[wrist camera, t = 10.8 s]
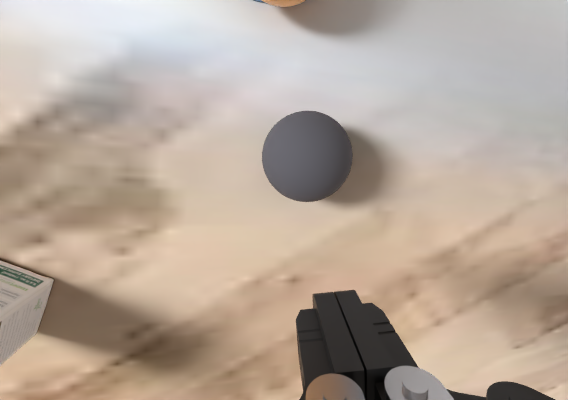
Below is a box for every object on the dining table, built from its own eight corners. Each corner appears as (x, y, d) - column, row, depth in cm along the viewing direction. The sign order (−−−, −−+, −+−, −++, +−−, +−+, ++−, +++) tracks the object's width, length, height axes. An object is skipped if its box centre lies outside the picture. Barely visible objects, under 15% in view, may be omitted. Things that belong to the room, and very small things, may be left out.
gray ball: (263, 221, 19) (257, 168, 23) (351, 219, 20) (329, 168, 24) (270, 138, 15) (261, 94, 19) (378, 141, 16) (346, 98, 20)
